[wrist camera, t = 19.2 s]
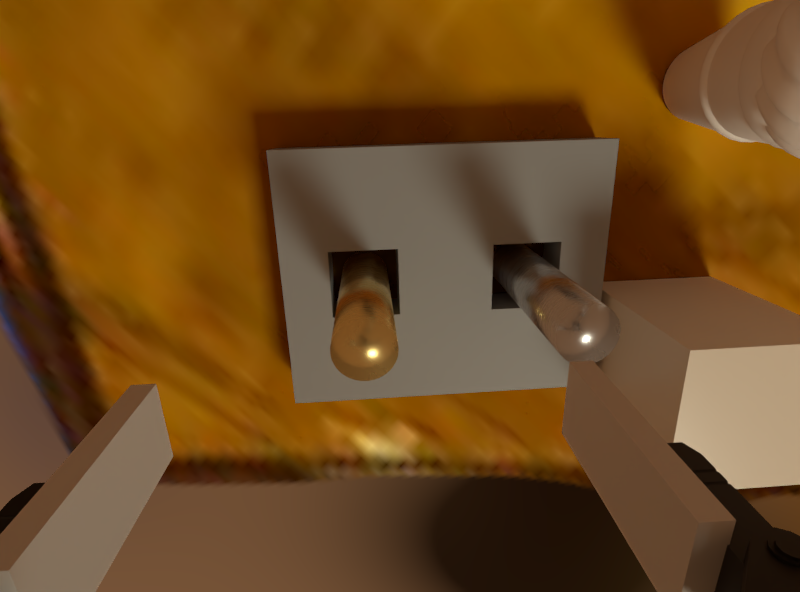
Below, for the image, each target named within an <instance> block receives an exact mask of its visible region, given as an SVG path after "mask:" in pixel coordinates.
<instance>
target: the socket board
mask: <svg viewBox="0 0 800 592" xmlns="http://www.w3.org/2000/svg"><path fill="white" fill-rule="evenodd" d="M618 146H619V139H618V138H566V139H536V140H506V141H476V142H447V143H417V144H387V145H357V146H327V147H298V148H275V149H270V150H266V152H267V161H268V170H269V178H270V187H271V196H272V204H273V213H274V222H275V230H276V239H277V248H278V257H279V265H280V274H281V283H282V291H283V300H284V309H285V317H286V326H287V335H288V343H289V352H290V361H291V369H292V378H293V387H294V395H295V403H308V402H324V401H341V400H357V399H373V398H390V397H406V396H422V395H439V394H455V393H472V392H488V391H504V390H521V389H537V388H554V387H567V380H568V371H569V361H567V360H565V359H564V358H563V357H562V356H561V355H560V354H559V353H558V351H557V350H556V349H555V348H554V347H553V346H552V344H551V343H550V342H549V341H548V340H547V339H546V337H545V336H544V335H543V334H542V333H541V331H540V330H539V329H538V328H537V327H536V326H535V324H534V323H533V322H532V321H531V320H530V319H529V317H528V316H527V315H526V314H525V313H524V311H523V310H522V309H521V308H520V307H519V306H518V304H517V303H516V302H515V301H514V300H513V299H512V297H511V296H510V295H509V294H508V293H496V294H492V277H493V248H494V245H499V244H521V243H544V247H543V259H545V260H546V261H547V262H549V263H550V264H551V265H553V266H554V267H555V268H557V269H558V270H559V271H561V272H562V273H563V274H565V275H566V276H567V277H569V278H570V279H571V280H573V281H574V282H575V283H577V284H578V285H579V286H581V287H582V288H583V289H585V290H586V291H587V292H589V293H590V294H591V295H593V296H594V297H596V298H597V299H598V300H600V301H601V297H602V288H603V279H604V270H605V261H606V252H607V244H608V235H609V226H610V217H611V208H612V199H613V190H614V181H615V173H616V164H617V155H618ZM388 249H396V278H397V299H391V300H392V307H393V313H394V320H395V327H396V333H397V340H398V348H399V352H398V358H397V361H396V363H395V365H394V366H393V368H392V369H391V370H390V371H389V372H388V373H387V374H385V375H384V376H382V377H380V378H378V379H375V380H371V381H357V380H353V379H351V378H348V377H346V376H345V375H343V374H342V373H341V372H339V371H338V369H337V368H336V367H335V365H334V364H333V362H332V359H331V355H330V345H331V339H332V333H333V327H334V320H335V314H336V308H337V302H338V301H337V302H336V300H335V287H334V274H333V261H332V252H343V251H366V250H388Z"/></svg>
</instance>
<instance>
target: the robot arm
mask: <svg viewBox="0 0 800 592" xmlns="http://www.w3.org/2000/svg"><path fill="white" fill-rule="evenodd" d="M562 434H563V436H564V437H565V439H566V441H567V442H568V444H569V446H570V447H571V449H572V451H573V452H574V454H575V456H576V457H577V459H578V461H579V462H580V464H581V466H582V467H583V469H584V471H585V472H586V474H587V476H588V477H589V479H590V481H591V482H592V484H593V486H594V487H595V489H596V491H597V492H598V494H599V496H600V497H601V499H602V501H603V502H604V504H605V506H606V507H607V509H608V510H609V512H610V514H611V515H612V517H613V519H614V521H615V522H616V524H617V526H618V527H619V529H620V531H621V532H622V534H623V536H624V537H625V539H626V541H627V542H628V543H629V546H630V547H631V549H632V551H633V552H634V554H635V556H636V557H637V559H638V561H639V562H640V564H641V566H642V567H643V569H644V571H645V572H646V574H647V575H648V577H649V579H650V581H651V582H652V584H653V585H654V587H655V589H656V590H657V592H800V536H799V535H797V534H794V533H792V532H790V531H786V530H783V529H779V528H773V527H772V526H771V525H770V524H769V523H768V522H767V521H766V520H765V519H764V518H763V517H762V516H761V515H760V514H759V513H758V512H757V511H756V510H755V509H754V508H753V506H752V505H751V504H750V503H749V502H748V501H747V500H746V499H745V498H744V497H743V496H742V495H741V494H740V493H739V492H738V491H737V490H736V489H735V488H734V487H733V486H732V485H731V484H728V481H727V480H726V479H725V478H724V477H723V476H722V475H721V474H720V473H719V472H717V471H716V468H715V467H714V466H713V465H712V464H711V463H710V462H709V461H708V460H707V459H706V458H705V457H704V456H703V455H702V454H700V453H699V452H697V451H696V450H694V449H692V448H691V447H689V446H687V445H686V444H684V443H683V442H676V443H666V441H665V440H664V439H663V438H662V437H661V436H660V435H659V434H658V433H657V431H656V430H655V429H654V428H653V427H652V426H651V425H650V424H649V423H648V421H647V420H646V419H645V418H644V417H643V416H642V415H641V414H640V413H639V411H638V410H637V409H636V408H635V407H634V406H633V405H632V404H631V403H630V401H629V400H628V399H627V398H626V397H625V396H624V395H623V394H622V393H621V391H620V390H619V389H618V388H617V387H616V386H615V385H614V384H613V383H612V381H611V380H610V379H609V378H608V377H607V376H606V375H605V374H604V373H603V371H602V370H601V369H600V368H599V367H598V366H597V365H596V364H595V362H594V361H593V360H592V361H573V362H569V371H568V380H567V390H566V399H565V409H564V418H563V427H562ZM172 457H173V454H172V449H171V445H170V441H169V437H168V432H167V428H166V424H165V420H164V415H163V411H162V407H161V403H160V398H159V394H158V390H157V386H156V384H144V385H131V386H130V387H129V388H128V389H127V390H126V392H125V393H124V394H123V395H122V396H121V397H120V398H119V399H118V401H117V402H116V403H115V404H114V405H113V406H112V407H111V409H110V410H109V411H108V412H107V413H106V414H105V415H104V417H103V418H102V419H101V420H100V421H99V422H98V423H97V425H96V426H95V427H94V428H93V429H92V430H91V431H90V433H89V434H88V435H87V436H86V437H85V438H84V439H83V441H82V442H81V443H80V444H79V445H78V446H77V447H76V449H75V450H74V451H73V452H72V453H71V454H70V455H69V457H68V458H67V459H66V460H65V461H64V462H63V464H62V465H61V466H60V467H59V468H58V469H57V470H56V471H55V472H54V474H53V475H52V476H51V477H50V478H49V479H48V481H47V482H46V483H34V484H32V485H31V486H29V487H28V488H27V489H25V490H24V491H22V492H21V493H20V494H18V495H16V496H15V497H14V498H12V499H11V500H10V501H9V502H8V503H7V504H6V505H5V506H4V507H3V509H2V510H1V511H0V592H96V590H97V588H98V586H99V585H100V583H101V581H102V579H103V578H104V576H105V574H106V573H107V571H108V569H109V567H110V565H111V564H112V562H113V560H114V559H115V557H116V555H117V553H118V552H119V550H120V548H121V546H122V544H123V543H124V541H125V539H126V537H127V536H128V534H129V532H130V530H131V529H132V527H133V525H134V524H135V522H136V520H137V518H138V517H139V515H140V513H141V511H142V510H143V508H144V506H145V504H146V503H147V501H148V499H149V497H150V496H151V494H152V492H153V490H154V489H155V487H156V485H157V484H158V482H159V480H160V478H161V477H162V475H163V473H164V471H165V470H166V468H167V466H168V464H169V463H170V461H171V459H172Z"/></svg>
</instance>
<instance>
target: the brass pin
mask: <svg viewBox="0 0 800 592" xmlns="http://www.w3.org/2000/svg"><path fill="white" fill-rule="evenodd" d="M398 352H399V348H398V340H397V333H396V327H395V320H394V313H393V307H392V300H391V293H390V286H389V280H388V273H387V268H386V265H385V263H384V261H383V260H382V259H381V258H380V257H379V256H378V255H376V254H374V253H372V252H365V251H363V252H358V253H355V254H353V255H352V256H350V257H349V258H348V259H347V261H346V262H345V264H344V266H343V271H342V277H341V283H340V289H339V296H338V302H337V308H336V314H335V320H334V327H333V333H332V339H331V345H330V355H331V359H332V362H333V364H334V365H335V367H336V368H337V369H338V371H339V372H341V373H342V374H343V375H345V376H346V377H348V378H351V379H353V380H357V381H371V380H375V379H378V378H380V377H382V376H384V375H385V374H387V373H388V372H389V371H390V370H391V369H392V368H393V366H394V365H395V363H396V361H397V358H398Z"/></svg>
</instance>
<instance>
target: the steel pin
mask: <svg viewBox="0 0 800 592" xmlns="http://www.w3.org/2000/svg"><path fill="white" fill-rule="evenodd" d="M493 276H494V277H495V279H496V280H497V281H498V282H499V283H500V284H501V286H502V287H503V288H504V289H505V290H506V291H507V293H508V294H509V295H510V296H511V297H512V299H513V300H514V301H515V302H516V303H517V304H518V306H519V307H520V308H521V309H522V310H523V311H524V313H525V314H526V315H527V316H528V317H529V319H530V320H531V321H532V322H533V323H534V324H535V326H536V327H537V328H538V329H539V330H540V331H541V333H542V334H543V335H544V336H545V337H546V339H547V340H548V341H549V342H550V343H551V344H552V346H553V347H554V348H555V349H556V350H557V351H558V353H559V354H560V355H561V356H562V357H563V358H564V359H565V360H567V361H569V362H573V361H592V360H593V361H594V362H598V361H600V360H602V359H603V358H605V357H606V356H607V355H608V354H609V353H610V352H611V351H612V350H613V349H614V348H615V346H616V344H617V342H618V340H619V337H620V331H621V327H620V321H619V319H618V317H617V315H616V314H615V312H614V311H613V310H611V309H610V308H609V307H608V306H606V305H605V304H604V303H602V302H601V301H600V300H598V299H597V298H596V297H594V296H593V295H591V294H590V293H589V292H587V291H586V290H585V289H583V288H582V287H581V286H579V285H578V284H577V283H575V282H574V281H573V280H571V279H570V278H569V277H567V276H566V275H565V274H563V273H562V272H561V271H559V270H558V269H557V268H555V267H554V266H553V265H551V264H550V263H549V262H547V261H546V260H545V259H543V258H542V257H541V256H539V255H538V254H537V253H535V252H534V251H533V250H531V249H530V248H529V247H527V246H526V245H524V244H522V243H521V244H504V245H502V246H500V247H499V248H498V249H497V250H496V251H495V252H494V254H493Z"/></svg>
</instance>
